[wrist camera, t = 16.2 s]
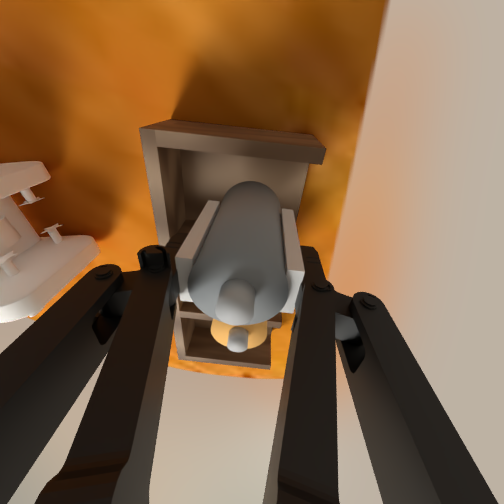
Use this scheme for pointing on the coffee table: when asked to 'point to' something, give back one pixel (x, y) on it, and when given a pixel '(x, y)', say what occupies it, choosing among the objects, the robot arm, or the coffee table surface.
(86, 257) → the cable organizer
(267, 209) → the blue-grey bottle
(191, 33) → the coffee table surface
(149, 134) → the brown compartment tray
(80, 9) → the coffee table surface
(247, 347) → the yellow knobbed cylinder
